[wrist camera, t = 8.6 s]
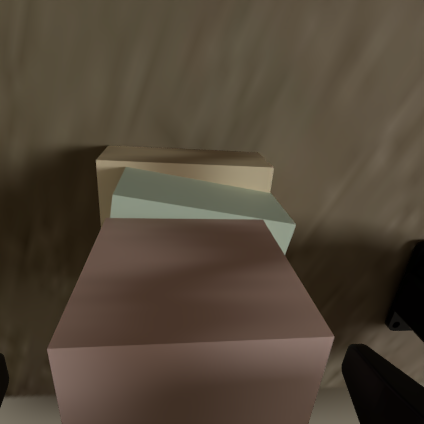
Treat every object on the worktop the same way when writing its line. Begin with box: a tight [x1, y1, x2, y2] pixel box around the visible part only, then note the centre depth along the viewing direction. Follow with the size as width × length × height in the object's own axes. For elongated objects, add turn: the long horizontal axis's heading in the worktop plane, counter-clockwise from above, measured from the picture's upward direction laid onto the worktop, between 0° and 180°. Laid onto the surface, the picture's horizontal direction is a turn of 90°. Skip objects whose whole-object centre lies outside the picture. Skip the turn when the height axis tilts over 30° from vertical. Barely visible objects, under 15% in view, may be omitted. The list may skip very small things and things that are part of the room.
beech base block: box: [96, 145, 274, 227], centre depth 15 cm, size 7×7×3 cm
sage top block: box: [110, 167, 296, 255], centre depth 12 cm, size 6×6×3 cm
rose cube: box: [47, 218, 334, 424], centre depth 9 cm, size 5×5×5 cm
